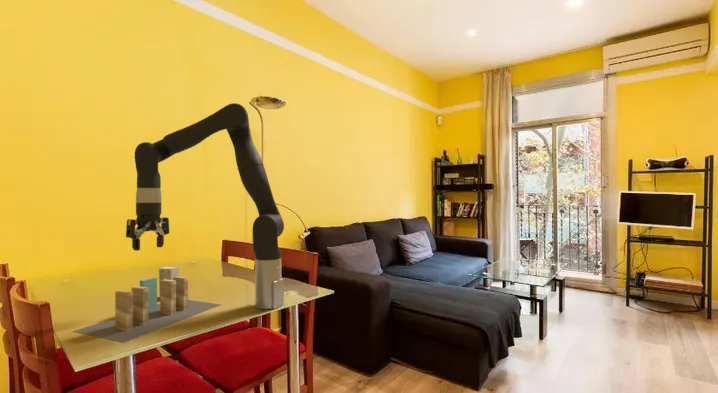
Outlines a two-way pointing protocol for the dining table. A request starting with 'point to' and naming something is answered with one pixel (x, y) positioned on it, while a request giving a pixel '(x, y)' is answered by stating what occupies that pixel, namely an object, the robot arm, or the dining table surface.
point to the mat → (154, 323)
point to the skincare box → (168, 273)
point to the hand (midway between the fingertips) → (148, 248)
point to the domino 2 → (151, 292)
